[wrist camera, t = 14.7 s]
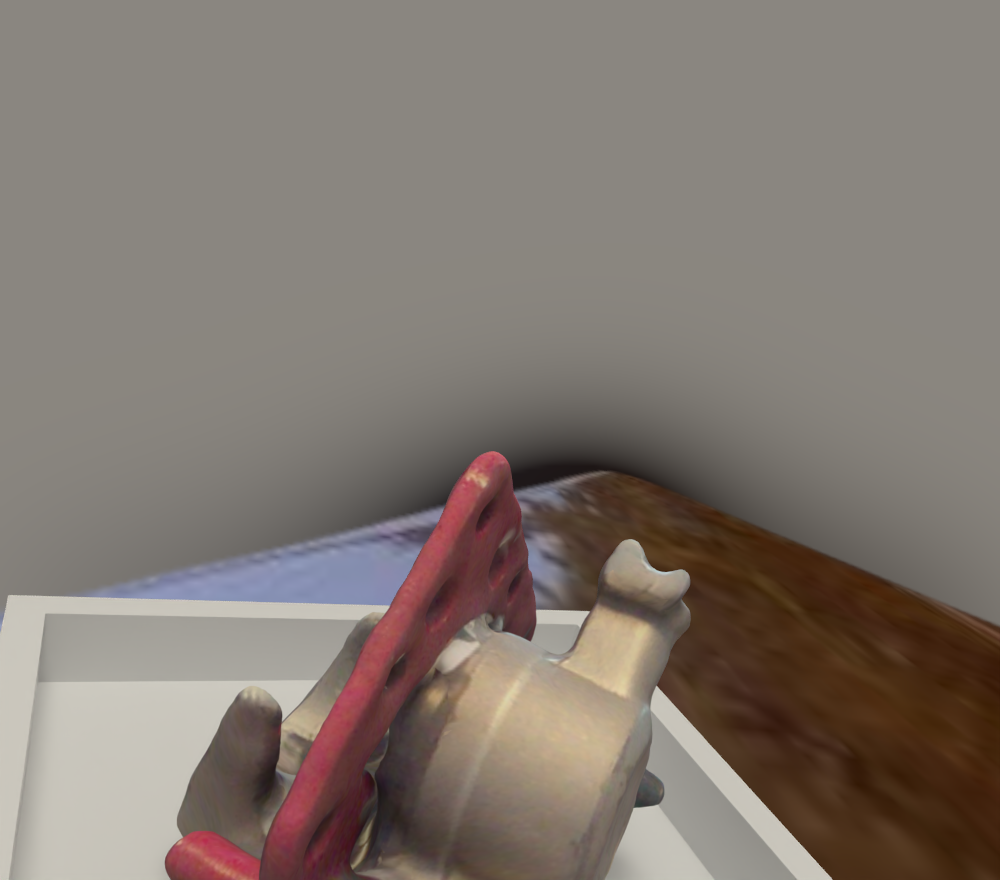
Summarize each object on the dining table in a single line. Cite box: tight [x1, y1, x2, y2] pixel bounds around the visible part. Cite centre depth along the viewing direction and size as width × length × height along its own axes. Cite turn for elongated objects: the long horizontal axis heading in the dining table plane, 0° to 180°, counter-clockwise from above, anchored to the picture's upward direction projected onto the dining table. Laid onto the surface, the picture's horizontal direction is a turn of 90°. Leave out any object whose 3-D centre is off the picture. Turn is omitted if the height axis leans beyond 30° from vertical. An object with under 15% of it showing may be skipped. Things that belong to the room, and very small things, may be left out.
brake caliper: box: [165, 451, 691, 880], centre depth 20 cm, size 11×11×12 cm
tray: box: [0, 595, 832, 880], centre depth 22 cm, size 19×19×3 cm
